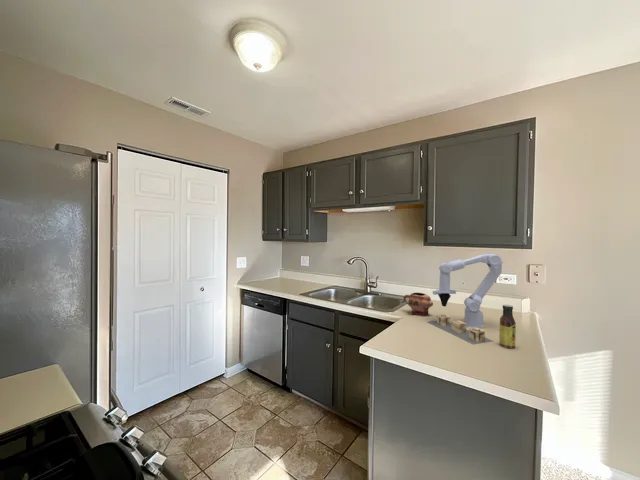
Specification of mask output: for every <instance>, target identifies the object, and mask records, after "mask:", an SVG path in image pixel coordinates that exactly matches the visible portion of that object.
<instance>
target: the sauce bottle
mask: <svg viewBox="0 0 640 480" xmlns="http://www.w3.org/2000/svg"><path fill="white" fill-rule="evenodd" d="M513 310H514V306H513V305H510V304H502V315H501V316H500V318H499V336H498V337H499V342H498V343H499V346H500V347H502V348H504V349H508V350H514V349H515V348H516V339H517V338H516V337H517V335H516V333H517V332H516V329H517V328H516V327H517V325H516V320H515V318H514V316H513V314H514V313H513V312H514V311H513Z"/></svg>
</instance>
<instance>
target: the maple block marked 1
mask: <svg viewBox="0 0 640 480" xmlns="http://www.w3.org/2000/svg"><path fill="white" fill-rule="evenodd" d="M436 321H437V324H439V325H441V326H450V323H451V316H449V315H447V314H445V313H444V314H443V313H442V314H437V315H436Z"/></svg>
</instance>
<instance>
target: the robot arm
mask: <svg viewBox="0 0 640 480" xmlns="http://www.w3.org/2000/svg"><path fill="white" fill-rule="evenodd" d="M503 262H504V261H503V259H502V257H501V256H499V254H496V253H495V254H494V253H491V252H490V253H488V252H487V253H483V254H480V255H476V256H473V257H469V258H467V259H463V260H462V259H461V258H459V259H458V258H455V260H451V261H447V262H446V263H445V262H443V263H441V264H440V265H439V267H438V269H439V289H436V290H432V295H435V296H436V295H438V297H439V300H440V303H441V306H442V307H447V305H448V302H449V300H450V299H451V295H453V294H454V295H456V294H457V290H456V289H451V272H455V271H459V270H462V269H464V268H465V267H466V266H469V265H474V264H477V263H484V264H486V265H487V266H488V269H489V271H488V272H487V274H486V275H485V277H484V278H483V280H481V282H480V284H479V285H478V286H477V287H476V289H475V290H474V292H473V293H471V294H470V295H469V296H468V297H466V298H465V299H464V301H463V303H464V306H465V308H464V323H466V327H469V328H481V327H484V314H483V311H481V310H480V308H481V305H482V303H483V299H484V297H485V296H486V294H487V293H488V291H489V290H490V289H491V288H492V286H493V285H494V283H496V281H497V280H498V279H499V277H500V275H501V274H502V267H503V265H502V264H503Z"/></svg>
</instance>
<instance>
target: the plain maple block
mask: <svg viewBox="0 0 640 480" xmlns="http://www.w3.org/2000/svg"><path fill="white" fill-rule="evenodd" d="M451 323H452V331H454V332H456V333H458V334H460V333H466V329H467V326H466V323H465V321H464V322H463V321H462V320H453V321H451Z"/></svg>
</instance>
